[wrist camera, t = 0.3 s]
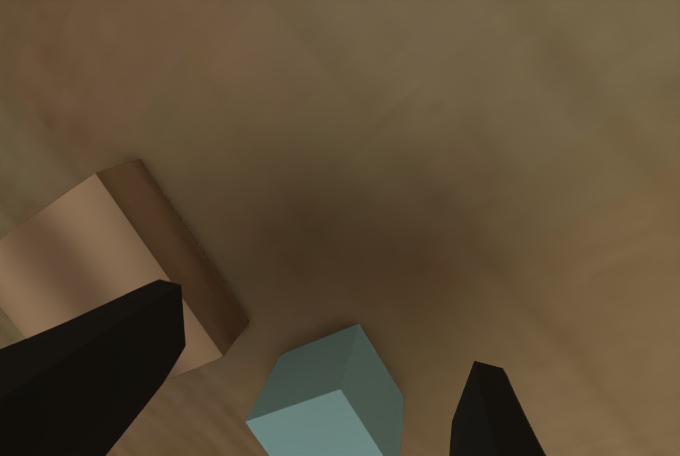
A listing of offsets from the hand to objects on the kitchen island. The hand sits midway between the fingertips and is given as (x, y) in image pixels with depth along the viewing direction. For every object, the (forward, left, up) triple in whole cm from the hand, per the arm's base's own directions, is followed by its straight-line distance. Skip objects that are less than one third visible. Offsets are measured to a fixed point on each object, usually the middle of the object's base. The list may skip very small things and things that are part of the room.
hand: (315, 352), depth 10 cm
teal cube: (-6, -7, -10) cm, 14 cm away
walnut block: (-14, +3, -11) cm, 18 cm away
